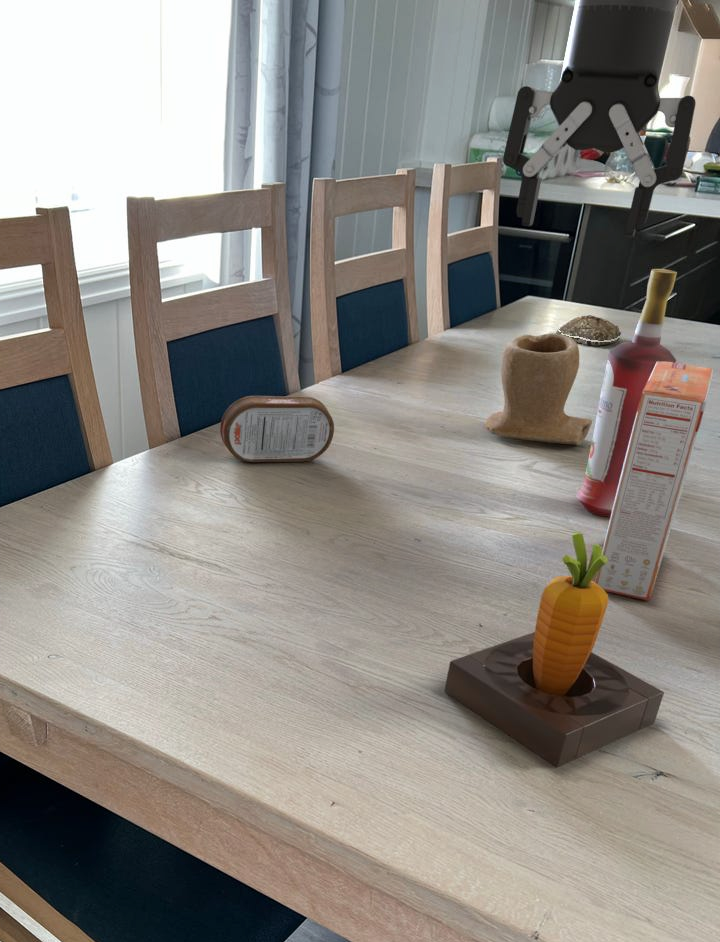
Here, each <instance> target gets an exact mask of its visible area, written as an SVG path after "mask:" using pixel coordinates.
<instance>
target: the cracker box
mask: <svg viewBox="0 0 720 942" xmlns="http://www.w3.org/2000/svg"><path fill="white" fill-rule="evenodd" d="M713 373H714V369H713V368H710V367H705V366H696V365H691V364H685V363H680V362H676V363H674V362H666V361H661V362H657V363H656V365H655V367H654V369H653V371H652V373H651V375H650V378H649V380H648V382H647V384H646V386H645V388H644V390H643V392H642V395H641V399H640V403H639V406H638V410H637V414H636V417H635V421H634V425H633V429H632V433H631V437H630V441H629V445H628V448H627V452H626V456H625V460H624V465H623V469H622V473H621V477H620V480H619V484H618V488H617V493H616V497H615V501H614V505H613V509H612V513H611V516H609V521H608V526H607V530H606V534H605V538H604V543H603V546H602V549H603V550H602V555H604V556H605V557H606V558H607V559H608V561H607V562H606V563H605V565H603V566H602V567H601V568H600V570H599V571H598V572H597V573H596V575H595V581H594V582H595V583H597V584H598V585H599V586H600V587H601V588H602V589H604V590H605V592H606V593H612V594H616V595H620V596H625V597H629V598H634V599H639V600H643V601H650V600H651V596H652V594H653V591H654V587H655V584H656V580H657V577H658V574H659V570H660V567H661V564H662V559H663V557H664V554H665V550H666V547H667V543H668V541H669V537H670V534H671V533H670V532H671V530H672V525H673V522H674V519H675V516H676V512H677V508H678V505H679V501H680V498H681V494H682V491H683V487H684V484H685V481H686V477H687V473H688V470H689V468H690V467H689V466H690V463H691V459H692V457H693V453H694V449H695V445H696V441H697V438H698V434H699V432H700V428H701V424H702V421H703V416H704V414H705V413H704V412H705V409H706V405H707V401H708V398H709V397H708V396H709V392H710V388H711V383H712V377H713Z"/></svg>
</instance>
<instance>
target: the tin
mask: <svg viewBox="0 0 720 942" xmlns="http://www.w3.org/2000/svg"><path fill="white" fill-rule="evenodd" d="M334 423H335V422H334V420H333V417H332V415H331V413H330V411H329V410H328V408H327V407H326V405H325V404H324V403H322V402H321V401H320V400H319V399H317V398H314V397H311V396H291V395H290V396H289V395H288V396H285V395H284V396H282V395H281V396H279V395H277V396H275V395H249V396H244V397H242V398H239V399H237V400H236V401H234V402H233V403H232V404H231V405H229V406H228V407H227V409H225V412H224V413H223V416H222V417H221V421H220V426H219V433H220V437H221V440H222V442H223V444H224V445H225V447H226V448H227V450H228V451H229V452H230V454H232V456H234V458H236V459H238V460H240V461H243V462H246V463H307V462H310V461H314V460H316V459H317V458H319V457H320V456H322V455H323V454H324V453H325V452H326V451H327V450H328V449H329V447H330V445H331V443H332V441H333V438H334V433H335V424H334Z"/></svg>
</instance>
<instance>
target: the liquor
mask: <svg viewBox="0 0 720 942" xmlns="http://www.w3.org/2000/svg"><path fill="white" fill-rule="evenodd" d="M677 274H678V271H675V270H671V269H663V268H652V269H651V271H650V275H649V278H648V282H647V288H646V298H645V301H644V305H643V307H642V311H641V313H640V317H639V319H638V322H637V325H636V328H635V331H634V334H633V336H632V339H631V340H629V341H626V342H621V343H619V344H618V345H616V346H614V347H612V348H611V349H609V351H608V354H607V355H608V356H607V360H606V367H605V370H604V376H603V379H602V385H601V390H600V394H599V395H600V396H599V402H598V407H597V414H596V418H595V424H594V429H593V434H592V440H591V445H590V449H589V455H588V459H587V463H586V469H585V474H584V478H583V482H582V486H581V489H579V490H578V492H576V498H577V500H578V501H579V502H580V503H581V505H582V506H583V508H584V509H585V510H586V511H587V512H589V513H592V514H594V515H598V516H601V517H602V516H603V517H611V513H612V509H613V505H614V501H615V497H616V493H617V488H618V484H619V480H620V477H621V473H622V469H623V465H624V460H625V456H626V452H627V448H628V445H629V441H630V437H631V433H632V429H633V425H634V421H635V417H636V414H637V410H638V406H639V403H640V399H641V395H642V392H643V390H644V388H645V386H646V384H647V382H648V380H649V378H650V375H651V373H652V371H653V369H654V367H655V365H656V363H657V362H661V361H666V362H674V363H677V359H676V357H675V356H674V354H673V353H672V352H671V351H670V349H668V348H666V346H665V347H664V345H661V339H662V332H663V327H664V322H665V321H664V319H665V316H666V310H667V304H668V301H669V298H670V295H671V293H672V291H673V289H674V285H675V283H676V278H677Z"/></svg>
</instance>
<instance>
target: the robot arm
mask: <svg viewBox="0 0 720 942" xmlns="http://www.w3.org/2000/svg"><path fill="white" fill-rule="evenodd" d="M679 2H680V0H575V2H574V7H573V12H572V18H571V23H570V27H569V33H568V37H567V38H568V39H567V44H566V49H565V53H564V59H563V65H562V69H561V76H560V79H559V81H558V83H557V85H556V87H555V89H554V90H553V91H549V90H542V89H541V90H540V89H536V88H534V87H532V86H528V85H526V86H522V87H521V88H520V89H518V91H517V95H516V99H515V104H514V108H513V113H512V117H511V121H510V126H509V131H508V135H507V138H506V144H505V148H504V152H503V157H502V163H503V164H504V166H506V167H507V168H511V169H513V170H515V171H516V172H518V173H519V175H520V176H521V182H520V189H519V192H518V199H517V205H516V217H517V218H521V226H524V227H525V226H526V227H531V226H533V224H534V220H535V217H536V216H535V214H536V210H537V205H538V200H539V194H540V189H541V185H542V177H540V174H541V172H542V171H543V170H544V169H545V168H546V167H547V166H548V165H549V164H550V162H552V160H554V158H555V157H557V156H558V155H559V153H561V152H562V151H563V149H564V148H565V147H566V146H567V145H568V147H570V148H571V149H573V150H574V151H586V150H593V149H595V150H597V151H600V152H603V153H615V152H619V151H621V150H623V149H624V151H625V153H626V155H627V157H628V160H629V161H630V163H631V166H632V167H633V169H634V171H635V174H636V175H637V178H638V180H639V182H638V186H636V187H635V188H634V192H633V197H632V201H631V205H630V209H629V213H628V214H629V215H628V218H627V223H626V227H625V231H624V237H631V238H633V237H634V236H635V233H636V230H638V231H642V229H643V228H644V227H645V224H646V223H647V220H648V216H649V212H650V208H651V203H652V200H653V195H654V191H655V189H656V188H657V187H658V186H660V185H662V184H666V183H668V182H673V181H677V180H678V179H680V178H681V176H682V175H683V171H684V167H685V163H686V162H685V161H686V156H687V152H688V147H689V141H690V135H691V130H692V125H693V120H694V115H695V110H696V99H695V97H693V96H692V95H685V96H683V97H661V96H660V92H659V85H660V84H659V83H660V78H661V75H662V69H663V65H664V62H665V56H666V54H667V53H666V52H667V49H668V45H669V40H670V35H671V31H672V26H673V23H674V18H675V14H676V9H677V6H678V5H679ZM547 106H549V107H550V110H551V112H552V114H553V117H554V119H555V121H556V124H557V126H558V127H557V128H556V129H555V130H554V131H553V132H552V133H551V135H549V137H548V138H547V139H545V141H544V142H543V143H542V145H541V146H540V147H539V149H538V150H536V151H535V152H534V154H533V155H532V156H531V157H530V156H528V155H527V154H524V151H525V148H526V143H527V139H528V135H529V131H530V126H531V121H532V119H536V118H538V117H539V116H540V115H541V114H542V112H543V109H544V108H545V107H547ZM658 112H661V113H662V114H663V115H664V123H665V126H667V127H669V128H673V132H672V137H671V142H670V148H669V153H668V160H667V165H663V166H659V167H655V165H654V163H653V162H652V159H651V157H650V154H649V152H648V150H647V147H646V145H645V143H644V141H643V138H642V137H641V134H640V132H641V131H642V130H643V129H644V128H645V127H646V126H647V125H648V124H649V123H650V122H651V121H652V119H653V118H655V116H656V115H657V114H658Z"/></svg>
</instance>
